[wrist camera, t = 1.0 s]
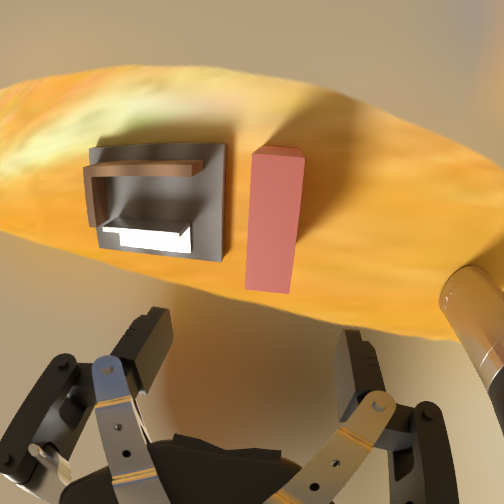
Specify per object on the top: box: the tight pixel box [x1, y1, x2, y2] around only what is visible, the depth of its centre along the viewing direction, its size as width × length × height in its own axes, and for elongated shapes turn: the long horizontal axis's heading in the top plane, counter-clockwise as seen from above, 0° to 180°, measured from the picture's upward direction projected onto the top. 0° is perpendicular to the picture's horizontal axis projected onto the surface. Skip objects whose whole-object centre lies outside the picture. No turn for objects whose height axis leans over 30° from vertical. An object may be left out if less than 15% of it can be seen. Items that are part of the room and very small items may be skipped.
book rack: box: [83, 143, 227, 262], centre depth 31 cm, size 18×14×6 cm
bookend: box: [102, 216, 192, 253], centre depth 32 cm, size 10×4×4 cm, turn 87°
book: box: [245, 145, 305, 294], centre depth 28 cm, size 4×12×10 cm, turn 177°
